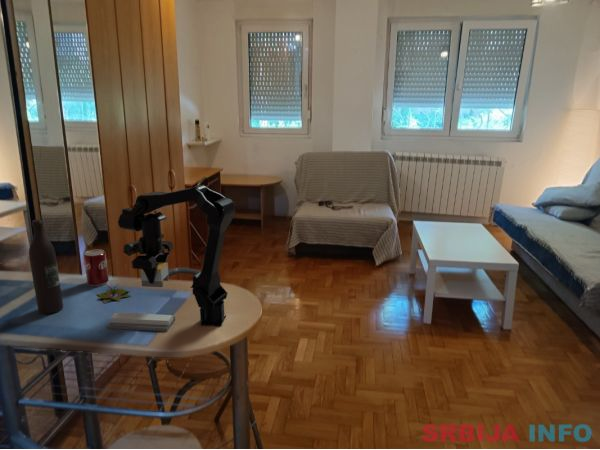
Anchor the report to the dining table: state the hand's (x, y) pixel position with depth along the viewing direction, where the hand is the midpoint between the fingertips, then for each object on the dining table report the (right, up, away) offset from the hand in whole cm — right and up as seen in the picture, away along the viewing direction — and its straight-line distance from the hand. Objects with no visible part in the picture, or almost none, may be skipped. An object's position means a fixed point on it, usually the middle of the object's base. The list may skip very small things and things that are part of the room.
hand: (155, 279), depth 139 cm
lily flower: (-19, -8, +12) cm, 24 cm away
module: (0, -1, 0) cm, 1 cm away
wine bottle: (-34, -10, +1) cm, 36 cm away
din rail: (-2, -13, -7) cm, 15 cm away
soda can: (-29, -4, +22) cm, 36 cm away
